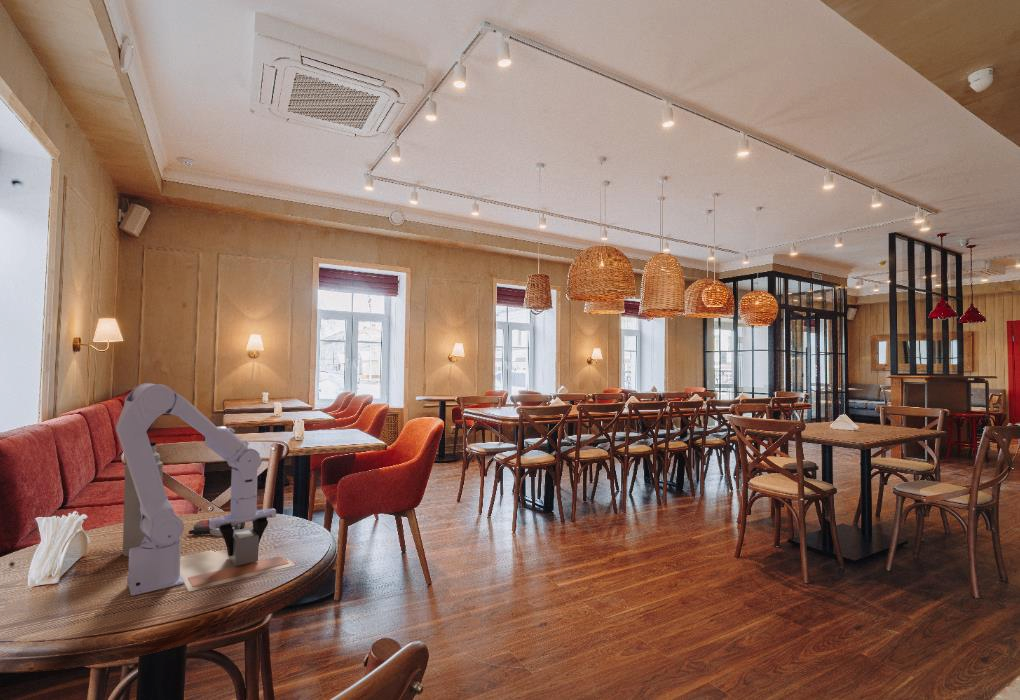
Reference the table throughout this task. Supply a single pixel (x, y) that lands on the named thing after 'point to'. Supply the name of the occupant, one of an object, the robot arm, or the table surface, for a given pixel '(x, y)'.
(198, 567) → the subfloor panel
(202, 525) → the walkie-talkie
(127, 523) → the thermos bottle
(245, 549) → the block
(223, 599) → the table surface
